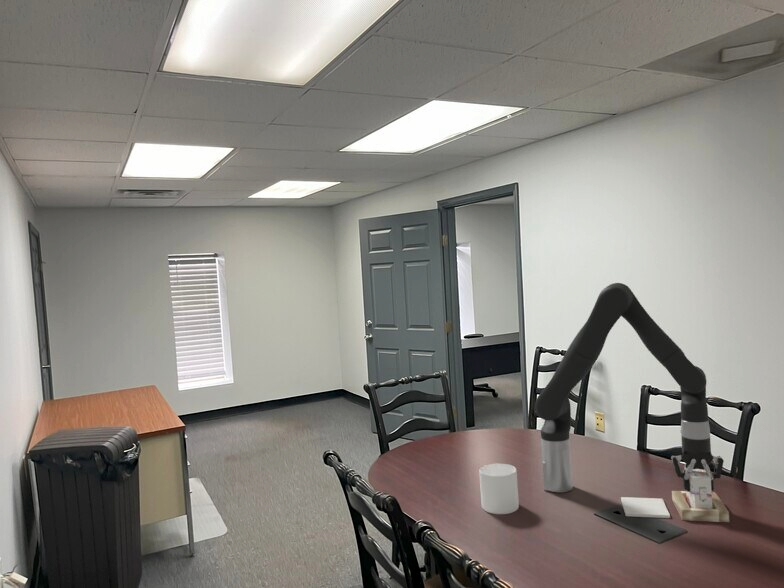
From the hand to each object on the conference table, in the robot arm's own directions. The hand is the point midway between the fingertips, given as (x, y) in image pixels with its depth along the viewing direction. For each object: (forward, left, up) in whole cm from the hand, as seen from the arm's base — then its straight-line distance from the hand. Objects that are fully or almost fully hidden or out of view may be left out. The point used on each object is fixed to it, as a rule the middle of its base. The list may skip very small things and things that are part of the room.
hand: (698, 490), depth 167 cm
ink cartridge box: (0, 0, -6) cm, 6 cm away
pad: (-15, 0, -6) cm, 16 cm away
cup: (-58, -3, -6) cm, 58 cm away
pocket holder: (0, 0, -6) cm, 6 cm away
